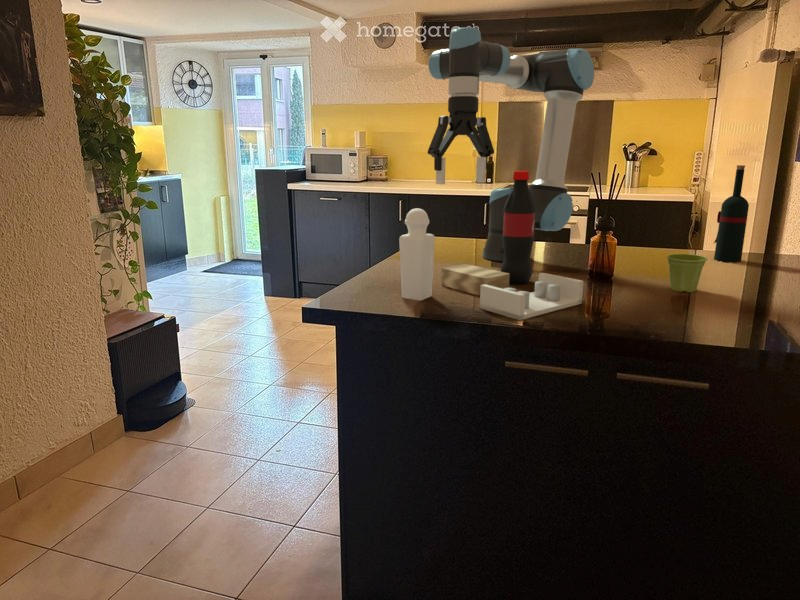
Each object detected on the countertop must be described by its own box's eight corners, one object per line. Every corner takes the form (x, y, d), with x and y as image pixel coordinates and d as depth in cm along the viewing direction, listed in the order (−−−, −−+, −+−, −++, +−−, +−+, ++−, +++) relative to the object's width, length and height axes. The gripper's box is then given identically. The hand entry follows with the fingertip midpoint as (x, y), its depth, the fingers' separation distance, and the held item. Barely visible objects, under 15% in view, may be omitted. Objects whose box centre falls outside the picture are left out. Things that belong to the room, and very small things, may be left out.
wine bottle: (723, 256, 196) (737, 164, 188) (747, 262, 186) (761, 165, 178) (703, 257, 194) (715, 164, 186) (725, 263, 184) (739, 166, 177)
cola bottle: (533, 279, 164) (539, 170, 156) (529, 286, 156) (536, 171, 148) (503, 277, 166) (507, 169, 158) (498, 284, 158) (502, 171, 151)
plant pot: (686, 296, 145) (691, 261, 143) (655, 288, 153) (658, 255, 151) (711, 291, 150) (715, 258, 147) (679, 284, 158) (683, 252, 155)
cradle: (541, 293, 148) (542, 272, 147) (581, 303, 139) (583, 281, 137) (479, 308, 135) (480, 285, 134) (519, 320, 126) (520, 295, 125)
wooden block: (441, 286, 158) (441, 268, 156) (465, 281, 163) (465, 263, 162) (484, 298, 146) (485, 278, 144) (508, 292, 151) (509, 273, 150)
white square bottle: (421, 301, 141) (422, 210, 135) (398, 298, 144) (398, 208, 139) (434, 296, 146) (435, 207, 141) (412, 292, 150) (412, 206, 144)
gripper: (489, 99, 155) (486, 181, 160) (414, 94, 141) (413, 184, 146) (510, 97, 149) (506, 182, 154) (433, 92, 135) (431, 185, 140)
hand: (461, 183), depth 150 cm, fingers open, 13 cm apart
